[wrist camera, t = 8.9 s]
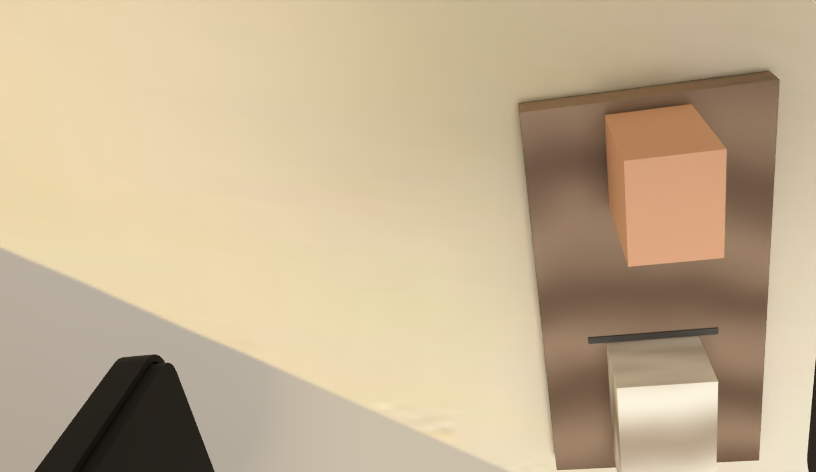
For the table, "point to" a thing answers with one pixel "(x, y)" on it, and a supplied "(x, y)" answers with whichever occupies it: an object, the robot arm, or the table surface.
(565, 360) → the ticket board
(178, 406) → the robot arm
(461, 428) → the table surface
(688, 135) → the stub
